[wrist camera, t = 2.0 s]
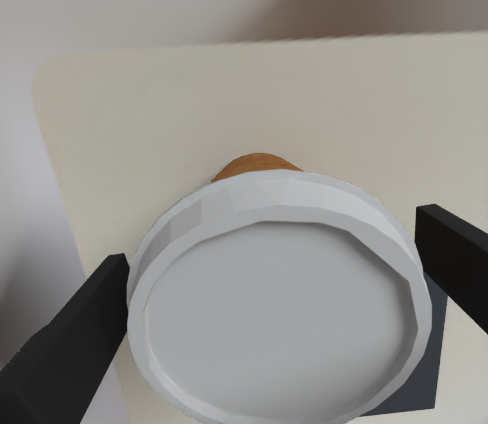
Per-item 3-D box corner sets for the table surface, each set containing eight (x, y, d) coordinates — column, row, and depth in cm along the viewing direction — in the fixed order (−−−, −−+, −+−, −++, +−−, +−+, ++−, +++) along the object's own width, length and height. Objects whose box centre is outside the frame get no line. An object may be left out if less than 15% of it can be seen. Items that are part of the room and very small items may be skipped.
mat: (205, 276, 22) (204, 281, 21) (449, 239, 20) (454, 243, 20) (246, 424, 28) (246, 429, 28) (431, 403, 27) (434, 408, 27)
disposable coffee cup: (343, 236, 20) (464, 408, 9) (220, 275, 22) (194, 467, 10) (307, 102, 17) (429, 118, 6) (163, 158, 18) (35, 260, 7)
